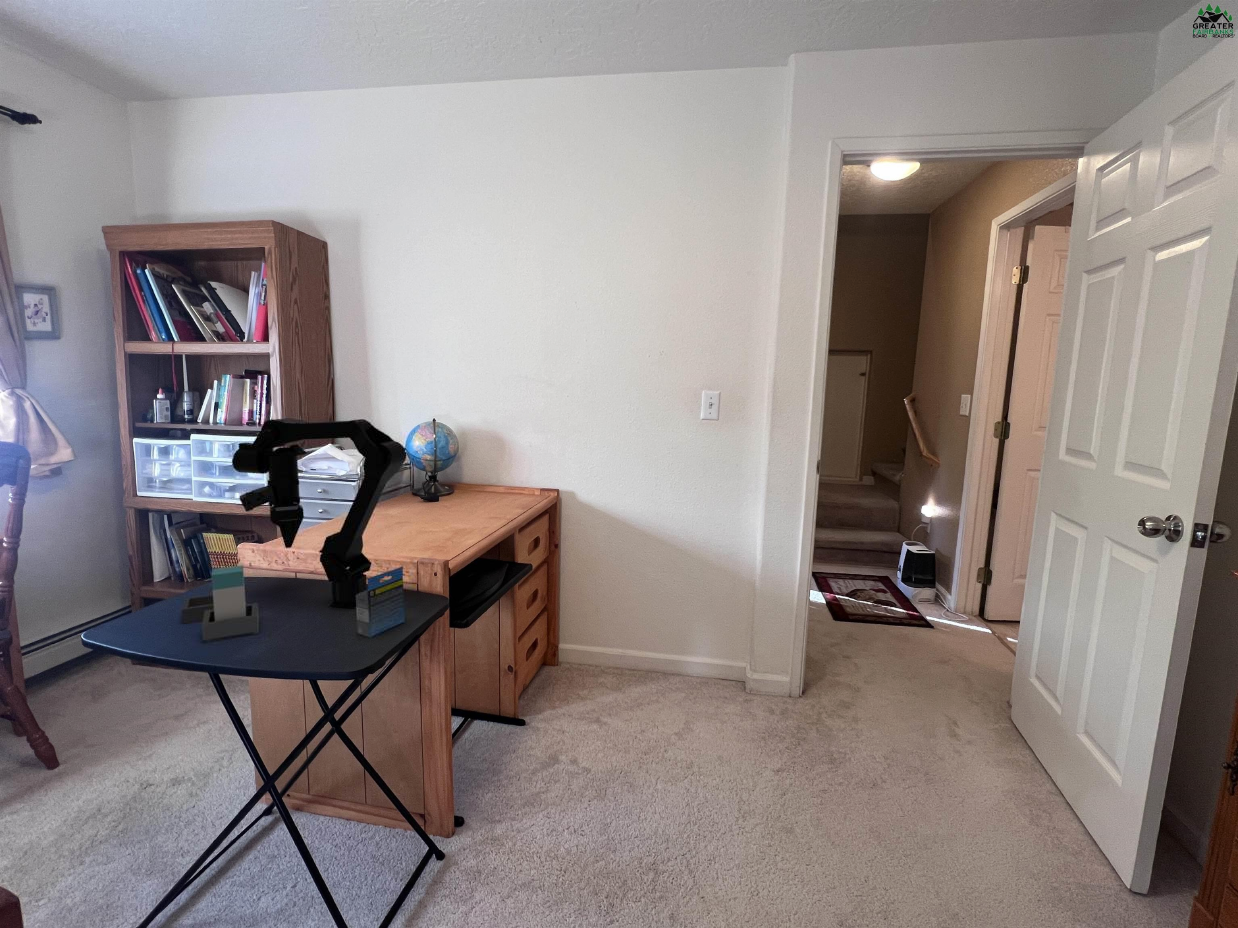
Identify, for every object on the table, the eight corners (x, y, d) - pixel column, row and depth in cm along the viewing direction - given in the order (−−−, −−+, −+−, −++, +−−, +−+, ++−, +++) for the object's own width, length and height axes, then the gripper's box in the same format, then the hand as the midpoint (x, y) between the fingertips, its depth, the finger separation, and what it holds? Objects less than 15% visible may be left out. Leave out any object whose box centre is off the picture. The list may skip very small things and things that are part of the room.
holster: (231, 604, 128) (231, 591, 128) (230, 616, 122) (229, 602, 122) (186, 611, 124) (185, 598, 123) (182, 623, 118) (181, 609, 117)
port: (258, 618, 121) (257, 602, 121) (258, 633, 115) (257, 616, 114) (206, 627, 117) (204, 610, 116) (203, 642, 110) (201, 625, 109)
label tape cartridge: (392, 618, 123) (390, 562, 122) (405, 622, 122) (404, 565, 120) (356, 633, 115) (354, 574, 114) (370, 638, 114) (367, 578, 112)
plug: (246, 621, 118) (243, 565, 117) (246, 629, 115) (242, 571, 113) (217, 626, 116) (212, 569, 114) (216, 634, 112) (211, 575, 111)
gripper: (241, 470, 133) (246, 536, 135) (239, 484, 117) (244, 558, 119) (297, 468, 139) (300, 531, 141) (302, 480, 123) (305, 551, 125)
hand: (287, 542), depth 131 cm, fingers open, 9 cm apart
